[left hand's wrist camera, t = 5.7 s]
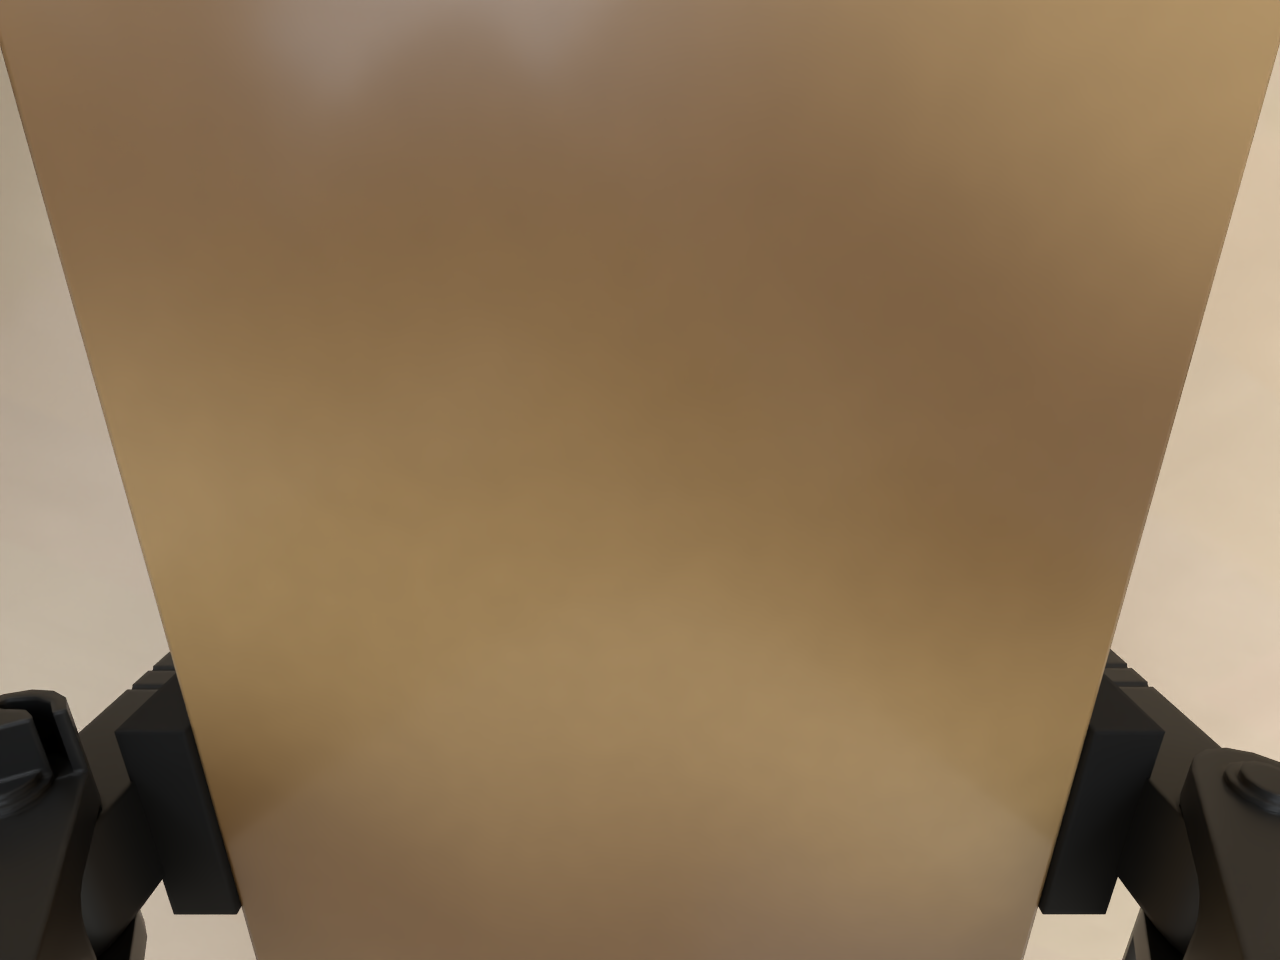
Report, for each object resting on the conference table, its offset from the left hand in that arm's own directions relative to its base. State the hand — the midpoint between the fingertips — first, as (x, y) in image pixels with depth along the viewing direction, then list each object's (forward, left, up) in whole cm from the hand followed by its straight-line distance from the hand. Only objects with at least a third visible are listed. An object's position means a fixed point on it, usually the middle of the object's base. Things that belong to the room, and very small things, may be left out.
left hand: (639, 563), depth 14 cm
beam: (+4, +37, -1) cm, 37 cm away
